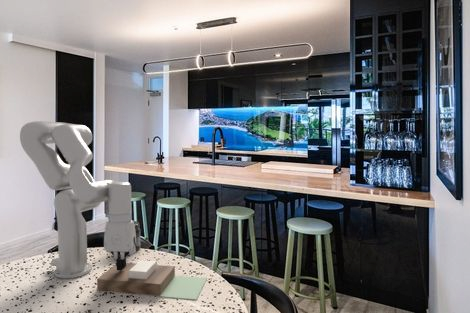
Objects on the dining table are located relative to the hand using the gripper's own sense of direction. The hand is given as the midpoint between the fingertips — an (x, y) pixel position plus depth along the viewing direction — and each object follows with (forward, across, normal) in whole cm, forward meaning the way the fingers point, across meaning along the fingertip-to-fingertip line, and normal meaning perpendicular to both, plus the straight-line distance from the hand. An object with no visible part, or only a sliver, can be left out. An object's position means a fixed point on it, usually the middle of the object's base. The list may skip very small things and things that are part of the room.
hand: (121, 268), depth 111 cm
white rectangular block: (0, +8, 0) cm, 8 cm away
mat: (+5, +23, 0) cm, 24 cm away
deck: (+5, +6, 0) cm, 8 cm away
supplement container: (+5, -12, +30) cm, 33 cm away
